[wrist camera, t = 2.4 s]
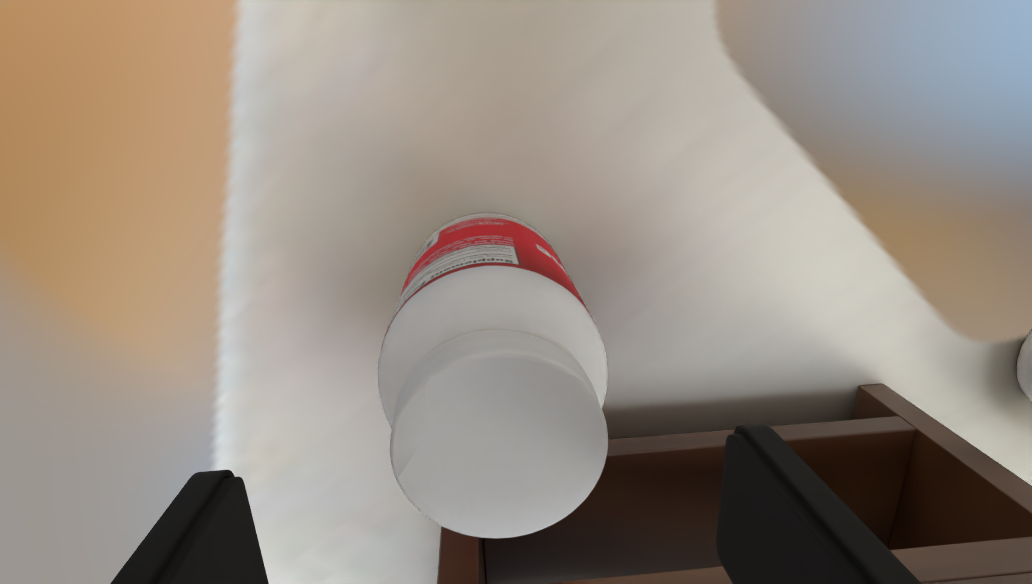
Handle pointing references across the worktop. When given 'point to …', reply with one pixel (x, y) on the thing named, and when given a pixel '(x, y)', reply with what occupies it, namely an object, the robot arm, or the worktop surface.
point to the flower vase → (1025, 366)
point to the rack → (828, 452)
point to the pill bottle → (493, 382)
